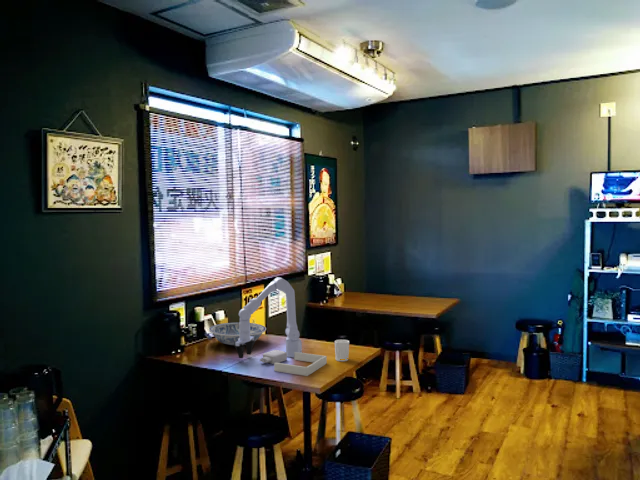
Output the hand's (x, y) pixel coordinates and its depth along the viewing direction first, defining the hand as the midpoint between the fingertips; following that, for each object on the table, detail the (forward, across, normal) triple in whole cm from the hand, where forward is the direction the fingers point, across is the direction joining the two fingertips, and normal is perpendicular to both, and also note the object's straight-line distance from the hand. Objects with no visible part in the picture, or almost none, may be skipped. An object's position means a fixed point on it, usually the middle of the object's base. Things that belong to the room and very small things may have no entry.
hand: (245, 356), depth 262 cm
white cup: (+2, -21, +48) cm, 52 cm away
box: (+2, 0, +34) cm, 34 cm away
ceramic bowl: (+2, -25, -22) cm, 33 cm away
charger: (+2, -1, +16) cm, 16 cm away
